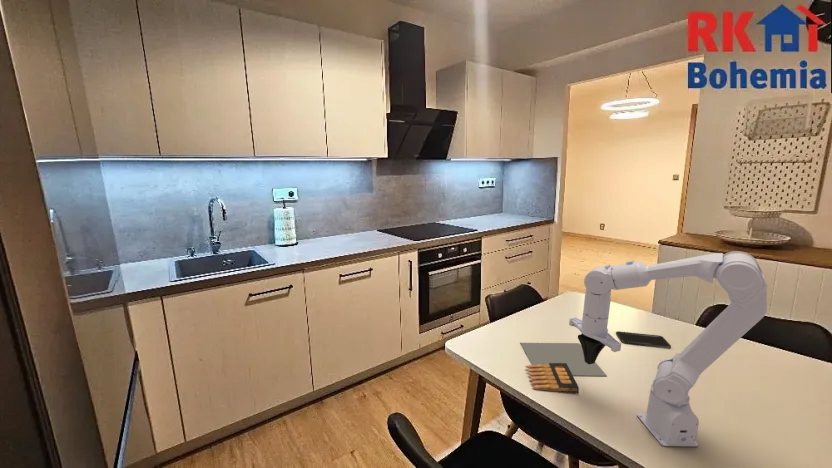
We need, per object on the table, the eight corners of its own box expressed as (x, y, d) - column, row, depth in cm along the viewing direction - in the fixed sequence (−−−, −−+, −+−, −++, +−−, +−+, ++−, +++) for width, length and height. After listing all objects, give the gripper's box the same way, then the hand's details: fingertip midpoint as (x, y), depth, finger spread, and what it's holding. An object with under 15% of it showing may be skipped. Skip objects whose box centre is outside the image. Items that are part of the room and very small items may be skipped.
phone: (615, 331, 125) (661, 335, 121) (614, 333, 125) (661, 338, 121) (622, 342, 117) (672, 347, 114) (622, 345, 117) (672, 350, 114)
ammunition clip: (565, 368, 103) (524, 367, 104) (566, 362, 102) (524, 362, 103) (578, 393, 92) (532, 392, 94) (579, 387, 92) (532, 386, 93)
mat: (606, 376, 100) (606, 375, 100) (537, 375, 100) (537, 374, 100) (578, 343, 117) (579, 343, 117) (520, 343, 118) (520, 342, 118)
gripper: (633, 324, 81) (625, 375, 84) (585, 301, 94) (580, 345, 97) (610, 329, 79) (603, 381, 82) (565, 304, 92) (560, 350, 95)
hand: (589, 362), depth 89 cm, fingers closed
